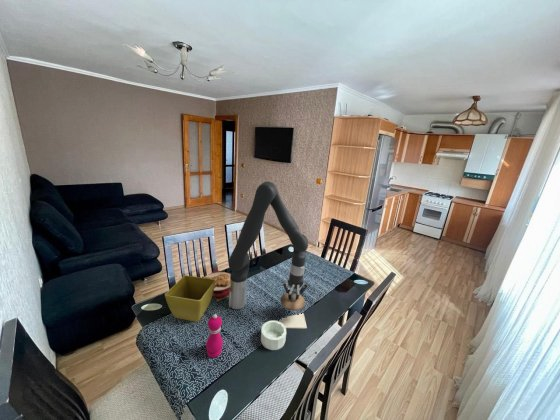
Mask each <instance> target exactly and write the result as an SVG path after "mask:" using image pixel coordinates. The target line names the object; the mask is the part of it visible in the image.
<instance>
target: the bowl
mask: <svg viewBox="0 0 560 420" xmlns="http://www.w3.org/2000/svg"><path fill="white" fill-rule="evenodd" d="M260 331H261V332H260V333H261V334H260V342H261V344H262V346H263V347H264V348H265V349H267V350H270V351H278V350H281V349H282V348H283V347H284V346H285V343H286V338H287V328H286V327H285V326H284V325H283V324H282V323H281V322H279V321H278V320H269V321H266V322H264V323H263V324H262V326H261V330H260Z"/></svg>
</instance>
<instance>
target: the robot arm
mask: <svg viewBox="0 0 560 420" xmlns="http://www.w3.org/2000/svg"><path fill="white" fill-rule="evenodd" d="M270 206H271V208H272V209H273V211H274V213H275V216H276V217H277V220H278V223H279V225H280V226H281V228H282V230H283V231H284V232H285V234H286V235H287V236H288V239H289V241H290V242H291V245H292V247H293V252H292V257H291V263H290V268H289V275H288V280H287V281H282V285H283V289H284V290H285V293H288V299H289V300H291V293H292V291H294V290H296V292H297V294H296V300H297V299H299V295H303V294H304V292H305V291H306V289H308V284H307V282H304V274H305V270H306V269H305V265H306V258H307V257H306V253H307V250H308V248H309V242H308V237H307V236H306V235H305V234H303V233H302V232H301V231H300V227H299V225H298V223H297V222H296V221H295V219H294V217H293V216H292V215H291V213H290V212H289V209H288V208H287V207H286V205H285V203H284V201H283V199H282V198H281V195H280V193H279V191H278V188H277V186H276V185H275V183H273V182H272V181H267V180H266V181H264V182H262V183H261V184H259V185H258V187H257V188H256V190H255V194H254V197H253V201H252V205H251V208H250V209H249V211H248V214H247V215H246V218H245V220H244V223H243V225H242V227H241V229H240V233H239V236H238V239H237V242H236V245H235V246H234V249H233V250H232V252H231V254H230V256H229V258H228V261H227V262H228V267H229V268H230V270H231V272H230V274H231V275H230V292H229V297H228V308H231V309H233V310H241V309H243V308H244V307H246V303H247V302H246V301H247V300H246V299H247V285H248V284H247V282H248V275H249V272H250V271H249V270H250V255H249V253H248V252H249V251H250V249H251V248H252V246H253V245H254V244H255V242H256V240H257V238H258V237H259V235H260V233H261V230H262V228H263V224H264V221H265V215H266V213H267V211H268V208H269V207H270ZM288 286H289V288H288Z"/></svg>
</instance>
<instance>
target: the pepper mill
mask: <svg viewBox="0 0 560 420" xmlns="http://www.w3.org/2000/svg"><path fill="white" fill-rule="evenodd" d="M222 323H223V320H222V318H221V316H219V315H217V314H216V313H215V314H213V315H212V316H211V317H210V318H209V319H208V320H207V326H208V332H209V336H208V338H207V340H206V343H205V348H206V350H207V351H206V352H207V356H208V357H209V358H217V357H219V356H220V355H221V354H222V351H223V350H222V348H223V344H224V341H223V338H222V336H221V333H220V331H221V328H222Z"/></svg>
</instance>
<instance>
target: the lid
mask: <svg viewBox="0 0 560 420" xmlns="http://www.w3.org/2000/svg"><path fill="white" fill-rule="evenodd" d="M296 294H297V290H293V291H292V293H291V300H289V299H288V293H286V292H285V293H284V294H282V295H281V297H280V300H279V301H280V304H281V306H283V308H285V309H286V310H289V311H300V310H302V309H304V308H305V305H306V300H305V298H304V297H303V296H302V294H299V299H297V300H296Z"/></svg>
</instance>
